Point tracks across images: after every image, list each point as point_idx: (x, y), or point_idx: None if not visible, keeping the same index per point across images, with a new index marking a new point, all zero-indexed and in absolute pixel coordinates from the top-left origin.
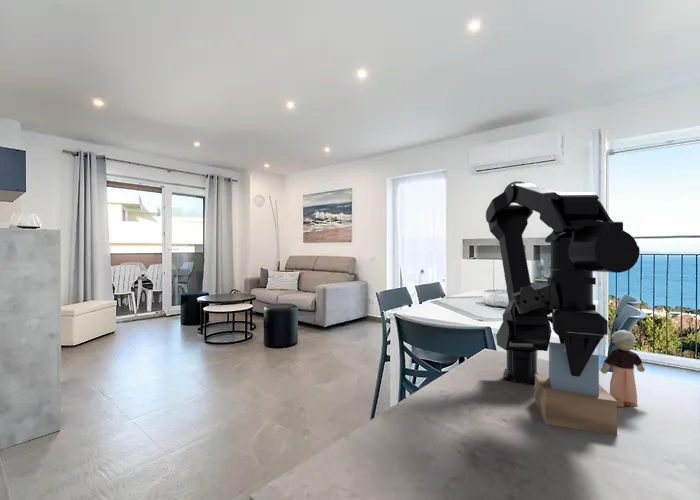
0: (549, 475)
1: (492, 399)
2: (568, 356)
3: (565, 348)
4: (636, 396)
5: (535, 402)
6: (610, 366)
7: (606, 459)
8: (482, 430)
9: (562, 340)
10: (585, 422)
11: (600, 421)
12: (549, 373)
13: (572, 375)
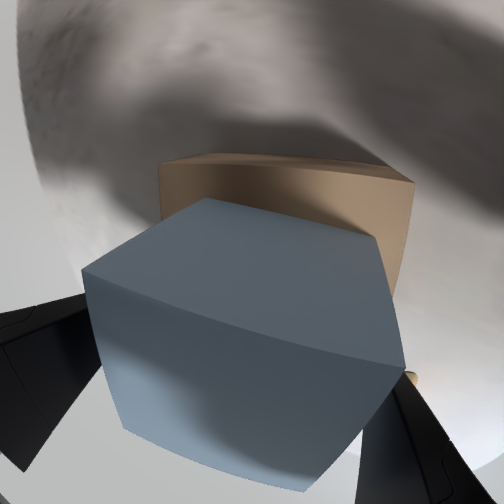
0: (49, 134)
1: (356, 24)
2: (43, 305)
3: (33, 327)
4: None
5: (378, 165)
6: None
7: (108, 232)
8: (134, 16)
9: (405, 452)
10: None
11: None
12: (345, 239)
13: None
